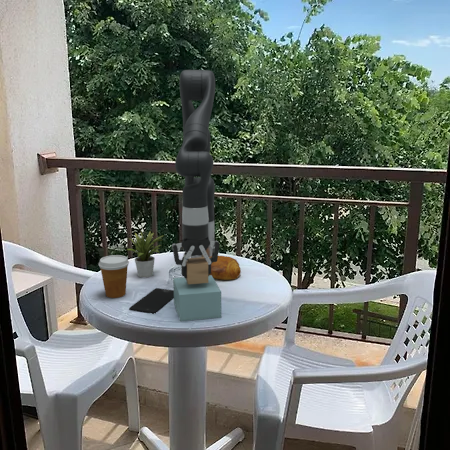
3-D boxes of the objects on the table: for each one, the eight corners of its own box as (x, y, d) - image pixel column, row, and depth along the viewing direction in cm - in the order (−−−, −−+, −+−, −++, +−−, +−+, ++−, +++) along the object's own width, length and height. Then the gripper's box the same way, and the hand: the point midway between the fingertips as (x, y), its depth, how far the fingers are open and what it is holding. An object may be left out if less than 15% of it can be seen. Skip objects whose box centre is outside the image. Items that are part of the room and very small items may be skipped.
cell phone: (180, 293, 166) (180, 291, 166) (154, 315, 150) (154, 312, 149) (156, 290, 169) (156, 287, 169) (128, 311, 153) (128, 308, 152)
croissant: (228, 290, 174) (230, 269, 171) (191, 276, 182) (193, 255, 179) (248, 276, 186) (251, 256, 183) (213, 264, 193) (215, 244, 191)
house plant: (162, 283, 174) (161, 237, 170) (122, 283, 174) (120, 237, 170) (168, 269, 188) (167, 227, 184) (131, 269, 188) (128, 226, 184)
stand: (173, 302, 158) (173, 278, 156) (211, 299, 160) (211, 275, 158) (180, 321, 145) (179, 295, 143) (221, 317, 147) (221, 291, 145)
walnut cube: (184, 277, 152) (184, 258, 151) (204, 275, 154) (204, 257, 152) (188, 284, 147) (187, 264, 145) (208, 282, 148) (208, 263, 147)
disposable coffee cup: (101, 301, 159) (98, 265, 156) (100, 290, 168) (97, 256, 165) (132, 298, 161) (130, 262, 158) (129, 287, 170) (127, 253, 167)
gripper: (217, 217, 151) (217, 270, 155) (168, 219, 148) (170, 274, 152) (222, 222, 144) (222, 278, 148) (172, 225, 141) (173, 282, 145)
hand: (196, 276), depth 150 cm, fingers closed on walnut cube, 6 cm apart
